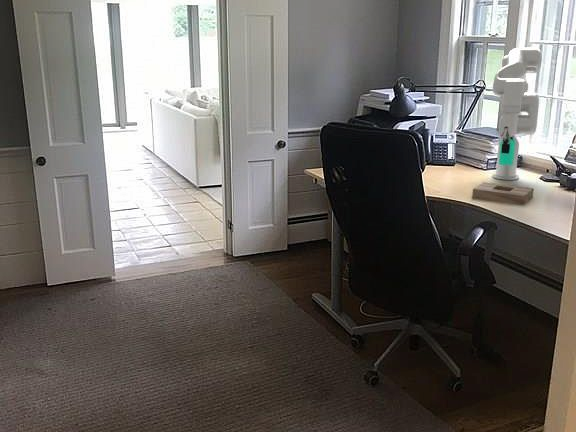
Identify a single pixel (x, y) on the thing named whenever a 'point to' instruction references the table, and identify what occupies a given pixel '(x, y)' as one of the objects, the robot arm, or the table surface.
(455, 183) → the table surface
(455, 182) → the table surface
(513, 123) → the robot arm
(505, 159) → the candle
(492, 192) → the wooden socket board
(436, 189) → the table surface
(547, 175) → the table surface
